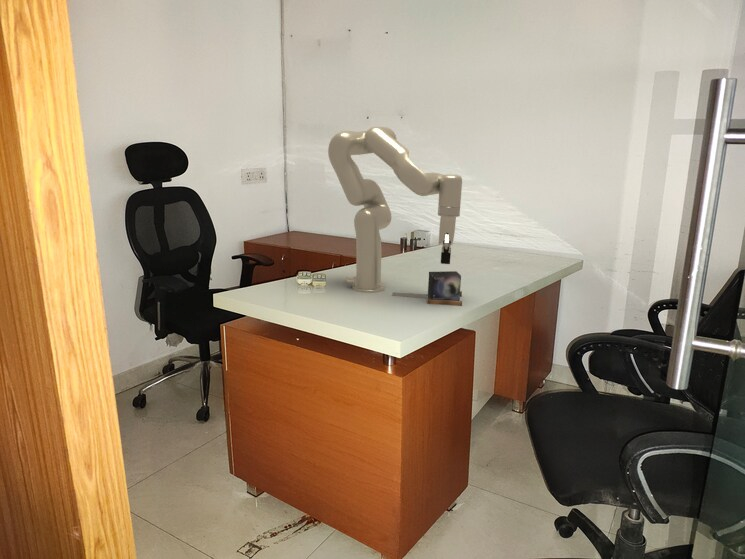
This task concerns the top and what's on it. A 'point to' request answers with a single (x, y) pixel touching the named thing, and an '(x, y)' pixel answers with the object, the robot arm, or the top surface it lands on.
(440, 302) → the brown open frame
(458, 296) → the small box
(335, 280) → the top surface
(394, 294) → the rubber mat
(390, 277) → the top surface
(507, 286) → the top surface
